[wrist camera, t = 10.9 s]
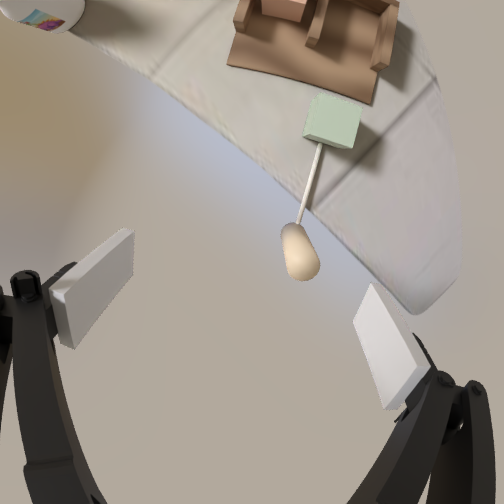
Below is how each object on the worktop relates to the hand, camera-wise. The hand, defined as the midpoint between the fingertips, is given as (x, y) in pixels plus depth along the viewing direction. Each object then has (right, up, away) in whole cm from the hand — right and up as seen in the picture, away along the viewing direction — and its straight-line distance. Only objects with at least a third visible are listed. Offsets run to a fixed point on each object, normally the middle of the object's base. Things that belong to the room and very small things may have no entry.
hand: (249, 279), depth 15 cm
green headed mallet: (+8, +11, +21) cm, 25 cm away
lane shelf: (+8, +30, +13) cm, 34 cm away
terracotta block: (+4, +34, +11) cm, 36 cm away
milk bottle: (-30, +40, +11) cm, 52 cm away
